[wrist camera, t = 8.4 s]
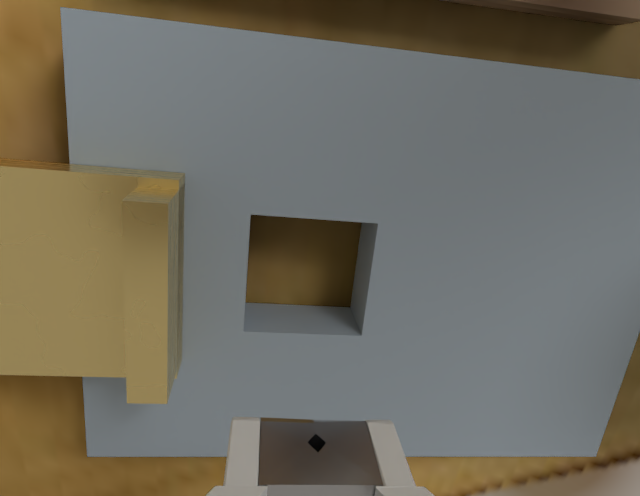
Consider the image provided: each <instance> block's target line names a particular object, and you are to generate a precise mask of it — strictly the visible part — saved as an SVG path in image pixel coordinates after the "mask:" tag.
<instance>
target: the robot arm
mask: <svg viewBox="0 0 640 496" xmlns="http://www.w3.org/2000/svg"><path fill="white" fill-rule="evenodd" d="M206 496H434V495H433V494H432V493H431V492H430V491H429V490H427V489H426V488H425V487H416V485H415V482H414V479H413V477H412V474H411V471H410V468H409V465H408V463H407V460H406V457H405V454H404V451H403V449H402V446H401V443H400V440H399V437H398V435H397V432H396V429H395V426H394V423H393V422H392V421H391V420H364V421H362V420H312V419H289V418H266V417H261V420H260V418H259V417H233V418H232V421H231V427H230V435H229V443H228V451H227V460H226V468H225V476H224V484H223V486H214V487H213V488H212V489H211V490H210V491H209V492H208V494H207V495H206Z"/></svg>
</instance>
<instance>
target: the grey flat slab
mask: <svg viewBox="0 0 640 496" xmlns="http://www.w3.org/2000/svg"><path fill="white" fill-rule="evenodd" d="M60 9H61V25H62V42H63V59H64V76H65V93H66V109H67V126H68V143H69V160H70V164H79V165H91V166H103V167H116V168H128V169H140V170H152V171H165V172H177V173H185V201H184V264H183V328H182V362H181V365H180V369H179V372H178V376H177V379H174V382H173V386H172V389H171V393H170V396H169V399H168V403H167V404H134V403H127V390H126V378H120V377H82V378H83V395H84V412H85V429H86V445H87V457H227V451H228V443H229V435H230V427H231V421H232V418H233V417H259V418H260V420H261V417H266V418H289V419H312V420H362V421H364V420H391V421H392V422H393V423H394V426H395V429H396V432H397V435H398V437H399V440H400V443H401V446H402V449H403V451H404V454H405V457H596V455H597V452H598V449H599V446H600V443H601V441H602V438H603V435H604V432H605V429H606V426H607V423H608V421H609V418H610V415H611V412H612V409H613V406H614V404H615V401H616V398H617V395H618V392H619V389H620V386H621V384H622V381H623V378H624V375H625V372H626V369H627V366H628V364H629V361H630V358H631V355H632V352H633V349H634V347H635V344H636V341H637V338H638V335H639V332H640V79H633V78H625V77H617V76H609V75H601V74H593V73H585V72H577V71H569V70H561V69H553V68H545V67H537V66H529V65H521V64H513V63H505V62H497V61H489V60H481V59H473V58H465V57H457V56H449V55H441V54H433V53H425V52H417V51H409V50H401V49H393V48H385V47H377V46H369V45H361V44H353V43H345V42H337V41H329V40H321V39H313V38H305V37H297V36H289V35H281V34H273V33H265V32H257V31H249V30H241V29H233V28H225V27H217V26H209V25H201V24H193V23H185V22H177V21H169V20H161V19H153V18H145V17H137V16H129V15H121V14H113V13H105V12H97V11H89V10H81V9H73V8H65V7H60ZM251 215H264V216H278V217H292V218H306V219H320V220H335V221H349V222H362V225H361V232H360V240H359V247H358V254H357V262H356V269H355V276H354V284H353V291H352V298H351V306H350V307H332V306H309V305H287V304H265V303H246V286H247V270H248V253H249V237H250V220H251Z"/></svg>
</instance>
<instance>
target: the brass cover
mask: <svg viewBox="0 0 640 496" xmlns="http://www.w3.org/2000/svg"><path fill="white" fill-rule="evenodd" d="M184 201H185V173H177V172H165V171H152V170H140V169H128V168H116V167H103V166H91V165H79V164H66V163H54V162H42V161H30V160H17V159H5V158H0V375H29V376H75V377H120V378H126V390H127V403H134V404H167V403H168V399H169V396H170V393H171V389H172V386H173V382H174V379H177V376H178V372H179V369H180V365H181V362H182V328H183V264H184Z"/></svg>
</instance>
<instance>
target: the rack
mask: <svg viewBox="0 0 640 496" xmlns="http://www.w3.org/2000/svg"><path fill="white" fill-rule="evenodd" d="M440 1H447V2H454V3H461V4H468V5H475V6H482V7H489V8H497V9H504V10H511V11H518V12H525V13H532V14H539V15H546V16H553V17H560V18H567V19H574V20H581V21H588V22H595V23H602V24H609V25H621V24H627V23H633V22H639V21H640V0H440Z"/></svg>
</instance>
